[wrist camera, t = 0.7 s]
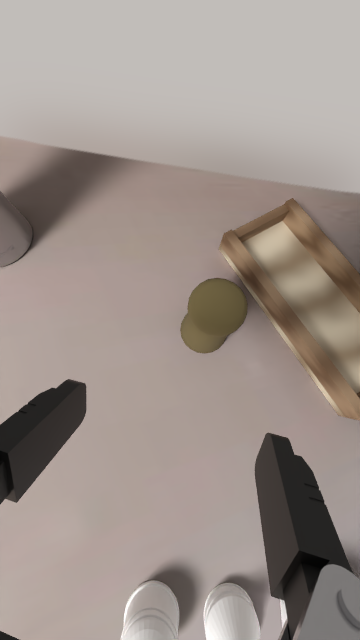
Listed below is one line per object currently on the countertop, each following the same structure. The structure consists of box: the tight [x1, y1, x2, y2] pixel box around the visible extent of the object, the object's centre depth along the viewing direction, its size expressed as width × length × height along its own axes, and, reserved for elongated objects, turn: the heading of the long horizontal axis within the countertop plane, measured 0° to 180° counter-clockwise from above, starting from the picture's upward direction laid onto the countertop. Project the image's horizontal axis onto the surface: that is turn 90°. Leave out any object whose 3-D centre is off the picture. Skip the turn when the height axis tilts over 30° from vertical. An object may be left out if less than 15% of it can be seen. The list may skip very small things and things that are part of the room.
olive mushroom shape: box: [181, 278, 247, 353], centre depth 23 cm, size 6×6×11 cm
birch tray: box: [219, 198, 360, 420], centre depth 28 cm, size 26×11×4 cm, turn 31°
